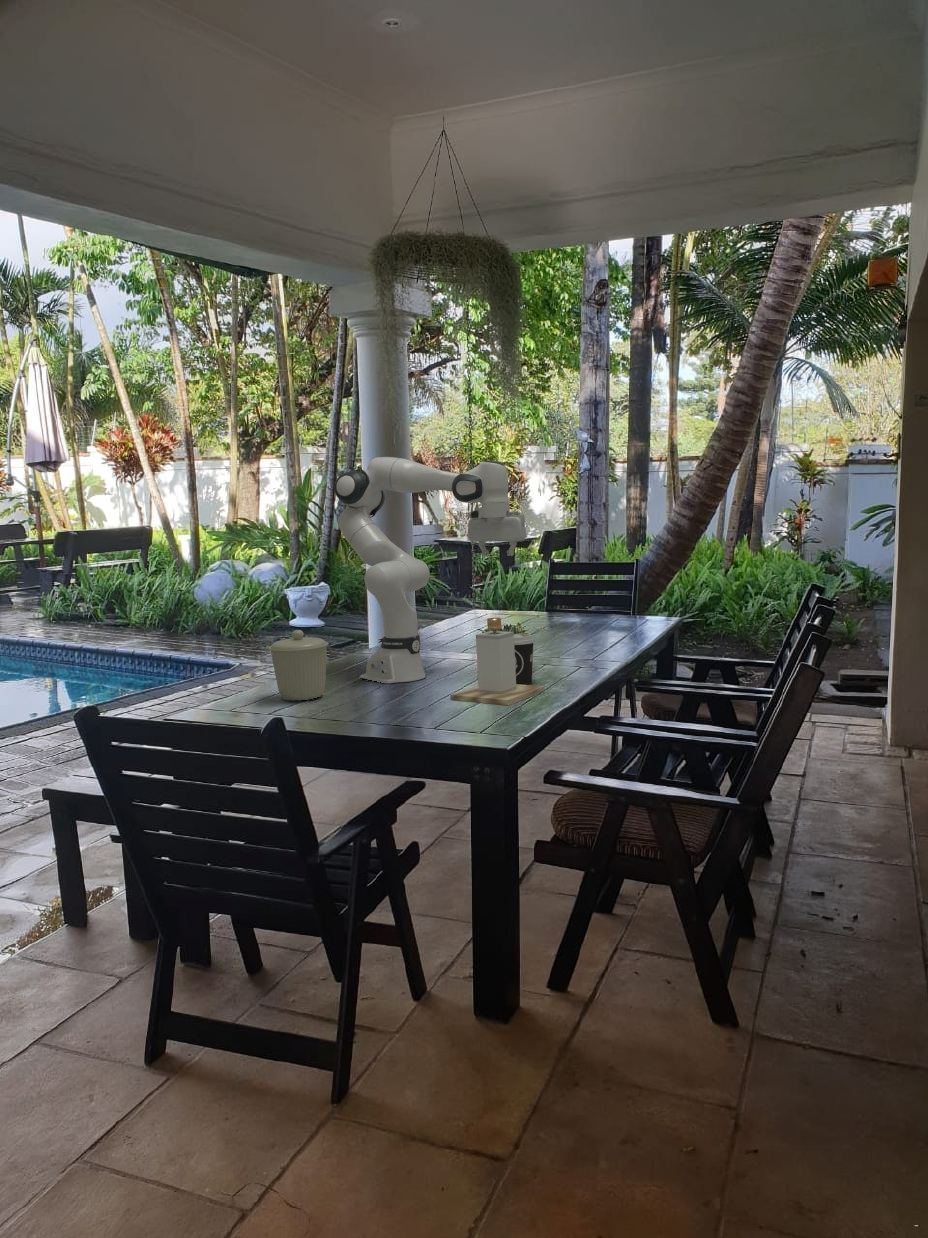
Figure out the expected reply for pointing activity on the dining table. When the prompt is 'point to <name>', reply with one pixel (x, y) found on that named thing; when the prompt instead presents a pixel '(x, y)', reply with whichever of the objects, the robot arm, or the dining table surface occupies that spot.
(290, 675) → the canister
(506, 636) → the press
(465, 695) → the board
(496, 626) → the plunger
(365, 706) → the dining table surface
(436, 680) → the dining table surface
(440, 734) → the dining table surface
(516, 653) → the coffee cup
